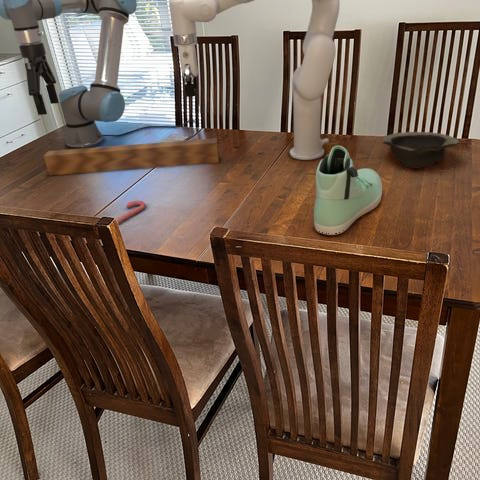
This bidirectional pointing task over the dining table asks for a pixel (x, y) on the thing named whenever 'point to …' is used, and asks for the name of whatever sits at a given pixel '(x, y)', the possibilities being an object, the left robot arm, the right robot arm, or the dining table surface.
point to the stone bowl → (419, 147)
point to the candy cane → (132, 210)
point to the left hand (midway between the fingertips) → (49, 108)
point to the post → (132, 156)
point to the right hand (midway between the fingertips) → (191, 92)
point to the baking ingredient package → (174, 138)
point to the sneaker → (343, 192)
